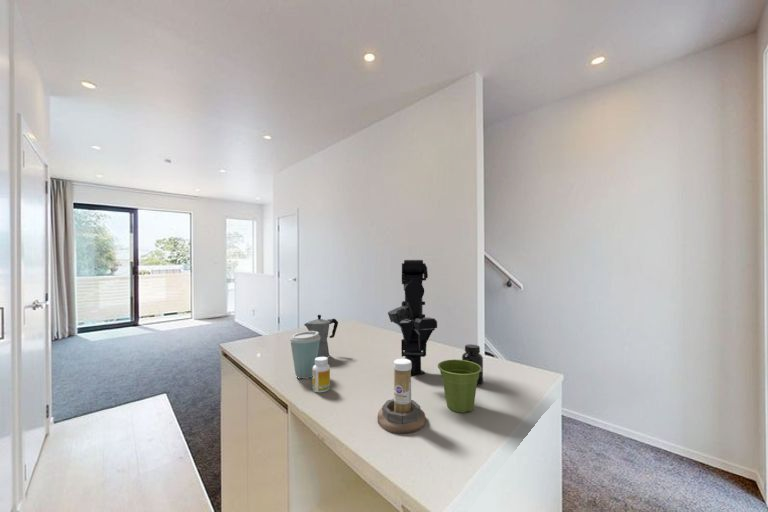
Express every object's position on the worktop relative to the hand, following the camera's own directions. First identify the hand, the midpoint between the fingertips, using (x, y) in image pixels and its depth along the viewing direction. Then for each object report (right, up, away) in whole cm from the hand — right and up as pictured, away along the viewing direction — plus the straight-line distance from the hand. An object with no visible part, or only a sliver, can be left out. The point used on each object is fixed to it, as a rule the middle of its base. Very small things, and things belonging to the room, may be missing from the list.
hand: (413, 347), depth 97 cm
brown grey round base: (-5, -12, -20) cm, 25 cm away
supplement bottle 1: (-30, -13, -1) cm, 32 cm away
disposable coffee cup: (-38, -13, +10) cm, 41 cm away
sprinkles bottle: (-5, -11, -20) cm, 24 cm away
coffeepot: (-36, -14, +32) cm, 51 cm away
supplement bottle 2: (+20, -13, +4) cm, 24 cm away
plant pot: (+11, -13, -13) cm, 22 cm away
